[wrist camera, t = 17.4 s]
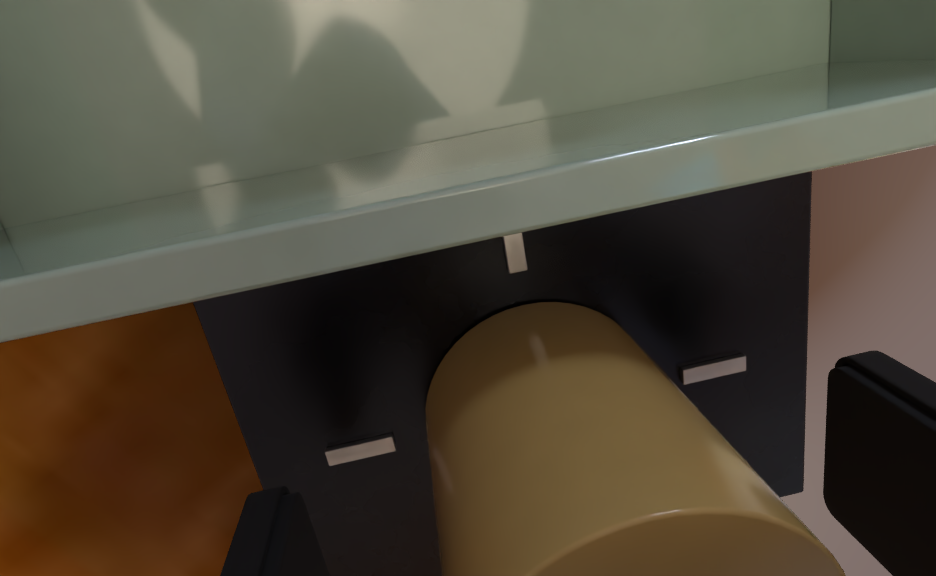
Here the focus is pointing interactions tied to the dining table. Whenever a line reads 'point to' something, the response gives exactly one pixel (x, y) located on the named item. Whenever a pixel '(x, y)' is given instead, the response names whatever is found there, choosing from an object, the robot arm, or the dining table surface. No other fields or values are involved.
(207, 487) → the dining table surface
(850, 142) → the pale green open box
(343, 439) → the black dial base
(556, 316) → the tap knob
